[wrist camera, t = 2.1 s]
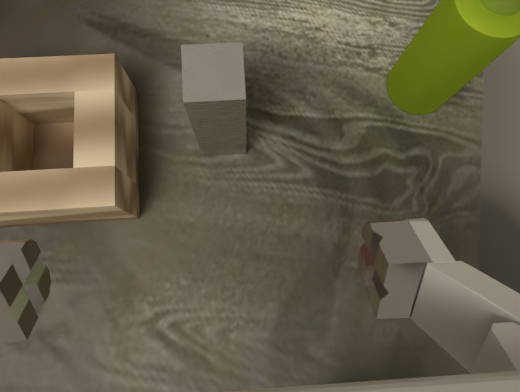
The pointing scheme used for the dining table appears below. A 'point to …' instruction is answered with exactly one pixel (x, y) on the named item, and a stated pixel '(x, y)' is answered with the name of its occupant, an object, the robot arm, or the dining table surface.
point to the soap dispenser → (451, 51)
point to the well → (67, 141)
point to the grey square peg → (215, 96)
